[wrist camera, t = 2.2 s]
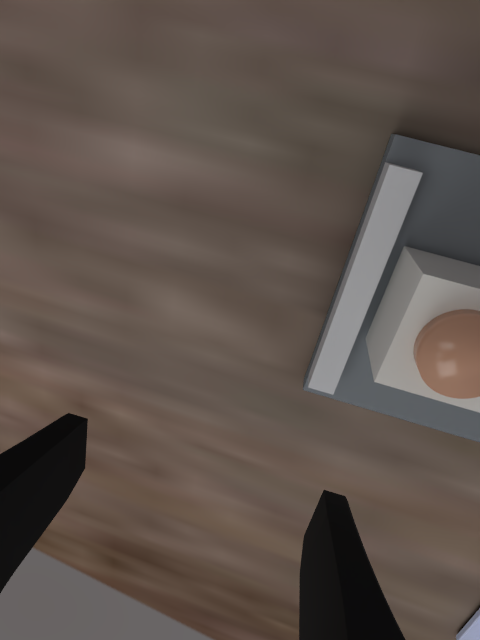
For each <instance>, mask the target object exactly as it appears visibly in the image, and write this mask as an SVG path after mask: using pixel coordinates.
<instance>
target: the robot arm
mask: <svg viewBox="0 0 480 640" xmlns="http://www.w3.org/2000/svg"><path fill="white" fill-rule="evenodd" d="M87 421H88V419H87V418H83V417H80V416H77V415H73V414H70V413H68V414H66V415H64V416H63V417H61V418H59V419H58V420H56V421H54V422H53V423H51V424H50V425H48V426H46V427H45V428H43V429H41V430H40V431H38V432H37V433H35V434H33V435H32V436H30V437H28V438H27V439H25V440H24V441H22V442H20V443H18V444H17V445H15V446H13V447H12V448H10V449H8V450H7V451H5V452H3V453H1V454H0V593H1V591H2V590H3V588H4V586H5V585H6V583H7V582H8V581H9V579H10V577H11V576H12V575H13V573H14V572H15V570H16V569H17V567H18V566H19V565H20V564H21V562H22V561H23V559H24V558H25V557H26V555H27V554H28V553H29V551H30V550H31V549H32V547H33V546H34V544H35V543H36V542H37V540H38V539H39V538H40V536H41V535H42V534H43V532H44V531H45V529H46V528H47V527H48V525H49V524H50V523H51V521H52V520H53V518H54V517H55V516H56V514H57V513H58V512H59V510H60V509H61V507H62V506H63V505H64V503H65V502H66V500H67V499H68V497H69V495H70V494H71V492H72V490H73V488H74V487H75V485H76V483H77V481H78V480H79V478H80V476H81V474H82V472H83V471H84V469H85V458H86V440H87ZM456 639H457V640H480V608H479V610H478V611H477V612H476V613H475V614H474V615H473V617H472V618H471V619H470V620H469V621H468V622H467V624H466V625H465V626H464V627H463V628H462V629H461V631H460V632H459V633H458V634H457V635H456ZM299 640H405V638H404V636H403V634H402V632H401V630H400V628H399V626H398V624H397V622H396V620H395V618H394V616H393V614H392V612H391V610H390V607H389V605H388V603H387V601H386V599H385V597H384V595H383V592H382V590H381V588H380V585H379V583H378V581H377V579H376V576H375V574H374V571H373V569H372V566H371V564H370V562H369V559H368V557H367V554H366V552H365V549H364V547H363V544H362V541H361V539H360V536H359V533H358V530H357V528H356V525H355V522H354V519H353V516H352V513H351V510H350V507H349V504H348V501H347V499H346V497H345V496H343V495H339V494H336V493H333V492H329V491H326V490H324V491H323V493H322V495H321V498H320V500H319V502H318V505H317V507H316V509H315V512H314V514H313V516H312V519H311V521H310V523H309V526H308V528H307V530H306V533H305V535H304V541H303V549H302V558H301V568H300V618H299Z"/></svg>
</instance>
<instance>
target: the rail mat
mask: <svg viewBox="0 0 480 640" xmlns="http://www.w3.org/2000/svg"><path fill="white" fill-rule="evenodd" d="M404 246H406V247H410V248H414V249H418V250H421V251H425V252H429V253H433V254H436V255H440V256H444V257H448V258H451V259H455V260H459V261H462V262H466V263H470V264H474V265H477V266H480V155H477V154H473V153H469V152H465V151H461V150H457V149H452V148H448V147H444V146H440V145H436V144H432V143H428V142H424V141H420V140H416V139H412V138H408V137H404V136H400V135H396V134H391V137H390V140H389V142H388V145H387V148H386V151H385V154H384V156H383V159H382V162H381V165H380V168H379V170H378V173H377V176H376V179H375V182H374V184H373V187H372V190H371V193H370V196H369V198H368V201H367V204H366V207H365V210H364V212H363V215H362V218H361V221H360V224H359V226H358V229H357V232H356V235H355V238H354V240H353V243H352V246H351V249H350V252H349V254H348V257H347V260H346V263H345V266H344V268H343V271H342V274H341V277H340V280H339V282H338V285H337V288H336V291H335V294H334V296H333V299H332V302H331V305H330V308H329V310H328V313H327V316H326V319H325V322H324V324H323V327H322V330H321V333H320V336H319V338H318V341H317V344H316V347H315V350H314V352H313V355H312V358H311V361H310V364H309V366H308V369H307V372H306V375H305V378H304V384H303V390H305V391H308V392H312V393H315V394H318V395H322V396H325V397H328V398H332V399H335V400H339V401H342V402H345V403H349V404H352V405H355V406H359V407H362V408H366V409H369V410H372V411H376V412H379V413H382V414H386V415H389V416H392V417H396V418H399V419H403V420H406V421H409V422H413V423H416V424H419V425H423V426H426V427H430V428H433V429H436V430H440V431H443V432H446V433H450V434H453V435H456V436H460V437H463V438H467V439H470V440H473V441H477V442H480V413H479V412H475V411H472V410H469V409H465V408H462V407H458V406H455V405H452V404H448V403H445V402H441V401H438V400H434V399H431V398H428V397H424V396H421V395H417V394H414V393H410V392H407V391H404V390H400V389H397V388H393V387H390V386H386V385H383V384H380V383H376V382H374V379H373V374H372V369H371V364H370V358H369V353H368V348H367V343H366V336H367V334H368V331H369V329H370V326H371V324H372V322H373V319H374V317H375V314H376V312H377V310H378V307H379V305H380V302H381V300H382V298H383V295H384V293H385V290H386V288H387V286H388V283H389V281H390V278H391V276H392V274H393V271H394V269H395V266H396V264H397V262H398V259H399V257H400V254H401V252H402V250H403V247H404Z"/></svg>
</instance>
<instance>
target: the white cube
mask: <svg viewBox="0 0 480 640" xmlns="http://www.w3.org/2000/svg"><path fill="white" fill-rule="evenodd" d="M366 343H367V348H368V353H369V358H370V364H371V369H372V374H373V379H374V382H376V383H380V384H383V385H386V386H390V387H393V388H397V389H400V390H404V391H407V392H410V393H414V394H417V395H421V396H424V397H428V398H431V399H434V400H438V401H441V402H445V403H448V404H452V405H455V406H458V407H462V408H465V409H469V410H472V411H475V412H479V413H480V266H477V265H474V264H470V263H466V262H462V261H459V260H455V259H451V258H448V257H444V256H440V255H436V254H433V253H429V252H425V251H421V250H418V249H414V248H410V247H406V246H404V247H403V250H402V252H401V254H400V257H399V259H398V262H397V264H396V266H395V269H394V271H393V274H392V276H391V278H390V281H389V283H388V286H387V288H386V290H385V293H384V295H383V298H382V300H381V302H380V305H379V307H378V310H377V312H376V314H375V317H374V319H373V322H372V324H371V326H370V329H369V331H368V334H367V336H366Z"/></svg>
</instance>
